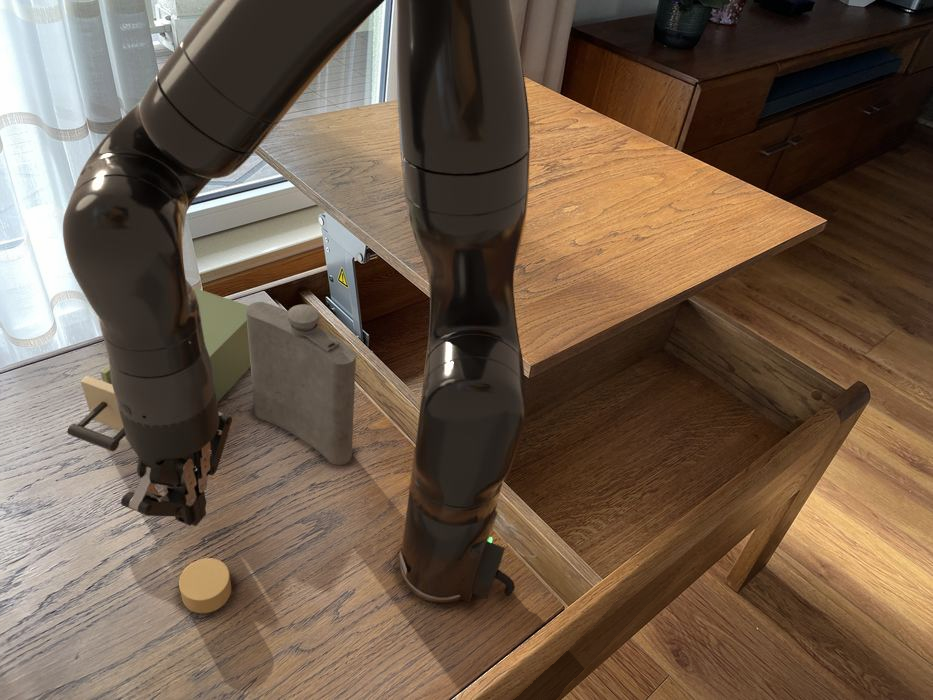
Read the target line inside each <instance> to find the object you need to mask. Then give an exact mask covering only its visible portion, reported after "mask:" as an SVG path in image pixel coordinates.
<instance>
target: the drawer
mask: <svg viewBox="0 0 933 700" xmlns="http://www.w3.org/2000/svg"><path fill="white" fill-rule="evenodd" d="M100 376H101V380H100V379H99V378H95V377H93V376H90V375H86V376H85V377H84V378H82V380H80V384H81V387H82V391H83V394H84V397H85V400H86V404H87V407H88V410H89V413H88V414H87V415H85V416H84V418H82V419H81V420H80V421H79V422H78V423H72V424H70V425H69V427H68V428H67V431H66V432H67V435H69V436H71V437H74V438H76V439H79V440H81V441H84V442H86V443H90V444H92V445H95V446H98V447H100V448H102V449H105V450H108V451H110V452H115V451H116V450H117V449H118V448H119V445H120V442H121V441H122V440H123V438H125V437H126V434H125V430H124V426H123V423H122V419H121V415H120V412H119V408H118V404H117V401H116V397H115V393H114V390H113V386H112V382H111V376H110V363H109V364H107V366H105V367H104V368H103V369H102V370H100ZM92 421H95V422H96V423H100V424H103V425H105V426H108V427H110V428H113V429H116V430H119V431H118V432H117V433H116V435H115V436H113V437H110V436H108V435H105V434H103V433H100V432H98V431H95V430H92V429H90V428H88V427H86V426H88V424H89V423H91V422H92Z"/></svg>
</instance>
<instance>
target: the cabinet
mask: <svg viewBox="0 0 933 700" xmlns="http://www.w3.org/2000/svg"><path fill="white" fill-rule="evenodd" d="M192 288H193V290H194V292H195V294H196V297H197V300H198V304H199V309H200V314H201V321H202V328H203V334H204V341H205V345H206V348H207V351H208V354H209V357H210V360H211V365H212V372H213V378H214V385H215V392H216V399H217V404H218V403H219V402H220V401H221V399H223V397H224V396H225V395H226V394H227V393H228V392H229V391H230V390H231V389H232V388H233V387H234V385H235V384H236V383H237V382H238V381H239V380H240V379H241V378H242V377H243V375H245V373H246V372H248V371H249V369H251V363H250V351H249V340H248V328H247V316H246V308H247V307H248V306H249V304H244V303H241V302H239V301H236V300H232V299H229V298H227V297H224V296H220V295H217V294H214V293H211V292H209V291H205V290H202V289H200V288H197V287H193V286H192Z"/></svg>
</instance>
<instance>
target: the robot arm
mask: <svg viewBox="0 0 933 700" xmlns="http://www.w3.org/2000/svg"><path fill="white" fill-rule="evenodd" d="M384 2H385V0H213V1H212V2H211V3H210V4H209V5H208V7H207V8H206V9H205V10H204V12H203V13H202V14H201V15H200V16H199V18H198V19H197V20H196V22H194V24H193V25H192V26H191V28H190V29H189V30H188V32H187V33H186V34H185V36H184V37H183V38H182V40H181V41H180V42H179V44H178V45H177V47H176V48H175V49H174V51H173V52H172V54H171V55H170V56H169V58H168V59H167V60H166V61H165V63H164V65H162V67H161V69H160V70H159V71H158V72H157V73H156V75H155V76H154V78H153V80H152V81H151V83H150V85H149V86H148V88H147V89H146V92H145V94H144V95H143V97H142V98H141V100H140V101H139V102H138V103H137V104H135V105H134V106H133V107H131V109H130V110H129V111H128V112H127V113H126V114H125V115H124V116H123V117H122V118H121V119H120V120H119V122H118V123H116V124H115V126H114V127H112V128H111V130H110V131H109V132H108V133H107V134H106V135H105V136H104V138H103V139H102V140H101V141H100V143H99V144H98V145H97V146H96V148H95V149H94V151H93V152H92V153H91V155H90V156H89V157H88V159H87V160H86V162H85V163H84V165H83V167H82V168H81V171H80V173H79V176H78V178H77V180H76V182H75V183H76V184H75V186H74V189H73V191H72V193H71V196H70V198H69V200H68V204H67V205H66V209H65V212H64V213H63V219H62V220H63V221H62V238H63V244H64V251H65V255H66V259H67V261H68V265H69V268H70V270H71V272H72V274H73V277H74V279H75V281H76V282H77V284H78V286H79V288H80V290H81V291H82V293H83V295H84V297H85V298H86V300H87V302H88V304H89V305H90V307H91V308H92V310H93V311H94V312H95V314H96V315H97V317H98V321H99V327H100V331H101V335H102V338H103V342H104V347H105V349H106V353H107V356H108V362H109V364H110V376H111V382H112V386H113V390H114V393H115V397H116V401H117V404H118V408H119V412H120V415H121V419H122V423H123V426H124V430H125V434H126V435H125V437H126V440H127V442H128V444H129V445H130V447H131V449H132V450H133V451H134V452H135V455H137V457H138V459H137V460H138V461H137V466H136V473H137V476H138V477H139V478H140V479H139V482H138V484H137V486H136V489H135V491H127V492H126V493H125V494H123V496H122V498H121V500H120V504H121V506H122V507H124V508H128V509H130V510H133V511H135V512H137V513H140V514H142V515H145V516H147V517H174V518H175V519H174V520H175V521H177V522H179V523H182V524H185V525H187V526H189V527H191V526H194V527H198V525H199V523H200V522H202V520H203V519H204V517H205V516H206V515H207V511H206V508H207V498H206V492H205V491H206V489H207V487H208V476H214V475H215V474H216V472H217V471H218V468H219V465H220V462H221V459H222V455H223V451H224V448H225V446H226V442H227V439H228V435H229V432H230V428H231V425H232V422H233V417H232V416H230V415H228V414H226V413H223V412H222V411H219V407H218V403H217V399H216V392H215V385H214V378H213V372H212V365H211V360H210V357H209V354H208V351H207V348H206V345H205V341H204V334H203V328H202V321H201V314H200V309H199V304H198V300H197V297H196V294H195V292H194V290H193V288H192V287H193V286H192V285H191V283H190V282H189V281H188V280H187V278H186V272H185V264H184V263H185V262H184V252H183V251H184V248H183V237H184V232H185V225H186V217H187V213H188V211H189V209H190V207H191V205H192V204H193V202H194V200H196V198H197V197H198V195H199V194H200V193H201V191H202V190H203V189H204V188H205V187H206V186H207V185H208V184H209V183H210V181H211V180H212V179H221V178H225V177H228V176H230V175H232V174H234V173H235V172H236V171H237V170H238V169H239V168H241V167H242V166H243V165H244V164H245V163H246V162H247V161H248V160H249V159H250V157H251V156H252V155H253V154H254V153H255V151H257V149H258V148H259V147H260V146H261V144H262V143H264V141H265V139H266V138H267V137H268V136H269V135H270V134H271V132H273V130H274V129H275V128H276V127H277V126H278V124H279V123H280V121H282V120H283V119H284V118H285V116H286V115H287V114H288V112H289V111H290V110H291V109H292V107H293V106H294V105H295V104H296V102H297V101H299V99H300V98H301V97H302V95H303V94H304V93H305V92H306V90H308V88H309V87H310V86H311V84H312V83H313V82H314V81H315V79H316V78H317V77H318V76H319V75H320V73H321V72H322V71H323V70H324V68H325V67H326V66H327V65H328V64H329V63H330V61H331V60H332V59H333V58H334V57H335V55H336V54H337V53H338V52H339V51H340V50H341V48H342V47H343V46H344V45H345V44H346V43H347V41H349V39H350V38H351V37H352V36H353V35H354V33H356V31H357V30H359V28H360V27H361V25H363V24H364V23H365V22H366V20H368V18H369V17H371V15H372V14H373V13H374V12H375V11H376V10H378V8H379V7H380V5H382V4H383V3H384ZM511 3H512V1H511V0H396V91H397V93H396V94H397V113H398V129H399V130H398V131H399V151H400V162H401V173H402V181H403V192H404V199H405V205H406V211H407V216H408V221H409V225H410V227H411V231H412V234H413V238H414V241H415V243H416V245H417V248H418V251H419V253H420V256H421V258H422V260H423V264H424V266H425V269H426V273H427V278H428V279H427V280H428V285H429V322H428V323H429V324H428V325H429V326H428V336H427V337H428V339H427V346H426V351H425V359H424V366H423V367H424V370H423V380H422V387H421V396H420V397H421V398H420V406H419V412H418V421H417V422H418V423H417V429H416V438H415V447H414V450H413V457H412V458H413V459H412V466H411V475H410V482H409V489H408V497H407V498H408V499H407V508H406V515H405V521H404V522H405V523H404V530H403V538H402V545H401V546H402V547H401V550H399V571H400V576H401V578H402V581H403V584H405V586H406V587H407V589H408V590H409V591H411V592H412V593H413V594H414V595H415V596H416V597H418V598H421V599H422V600H425V601H427V602H432V603H436V604H447V603H453V602H457V601H462V602H466V603H469V602H470V601H471V599H472V596H473V595H476V596H478V597H481V598H484V599H486V600H488V599H489V596H490V594H491V591H492V588H493V586H494V583H495V579H496V580H498V581H500V582H501V583H503V584H504V585H505V587H504V589H503V594H504V595H506V596H508V597H509V596H511V595H512V594H513V592H514V591H515V588H516V587H515V582H514V580H513V579H512V578H511V577H510V576H509V575H507V574H505V573H504V572H503V571H501V570H500V565H501V563H502V560H503V555H504V553H505V549H506V547H505V546H501V545H499V544H497V543H493V537H492V535H493V531H494V527H495V523H496V521H497V520H496V519H497V515H498V511H497V506H498V502H499V498H500V494H501V490H502V487H503V482H505V480H506V479H508V477H509V475H510V474H511V470H512V468H513V465H514V462H515V458H516V455H517V452H518V448H519V445H520V443H521V439H522V436H523V431H524V428H525V422H526V418H527V417H526V416H527V415H526V414H527V400H526V399H527V398H526V381H525V368H524V360H523V359H524V358H523V352H522V348H521V344H520V343H521V342H520V335H519V328H518V322H517V314H516V311H517V310H516V302H515V287H514V286H515V285H514V279H515V271H516V270H515V269H516V265H517V260H518V257H519V252H520V249H521V245H522V241H523V236H524V231H525V225H526V220H527V214H528V213H527V212H528V204H529V191H530V164H531V163H530V162H531V160H530V159H531V157H530V156H531V127H530V126H531V125H530V112H529V111H530V109H529V102H528V95H527V88H526V81H525V74H524V69H523V63H522V56H521V51H520V46H519V40H518V36H517V29H516V26H515V19H514V15H513V9H512V4H511ZM210 451H211V453H210ZM156 485H160V486H161V487H162V488H163V491H164V495H163V494H159V491H158V490H157V489H156Z"/></svg>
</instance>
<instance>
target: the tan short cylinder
mask: <svg viewBox="0 0 933 700" xmlns="http://www.w3.org/2000/svg"><path fill="white" fill-rule="evenodd" d="M230 575H231V574H230V570H229V568H228V567H227V565H226V564H225V563H224V562H223V561H221V560H219V559H216V558H212V557H211V558H210V557H208V558H207V557H205V558H200V559H198V560H195V561H193V562H192V563H190V564H189V565H188V566H187V567H185V568H184V570H183V571H182V572H181V574H180V576H179V581H178V587H179V591H180V595H181V599H182V603H183V605H184V606H185V607H186V609H188V610H189V611H191V612H192V613H193V612H194V613H195V614H196V613H197V614H208V613H212V612H215V611H217V610H219V609H220V608H222V606H224V605H225V604H226V603H227V601H228V600H229V599H230V596H231V594H232V583H231V576H230Z"/></svg>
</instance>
